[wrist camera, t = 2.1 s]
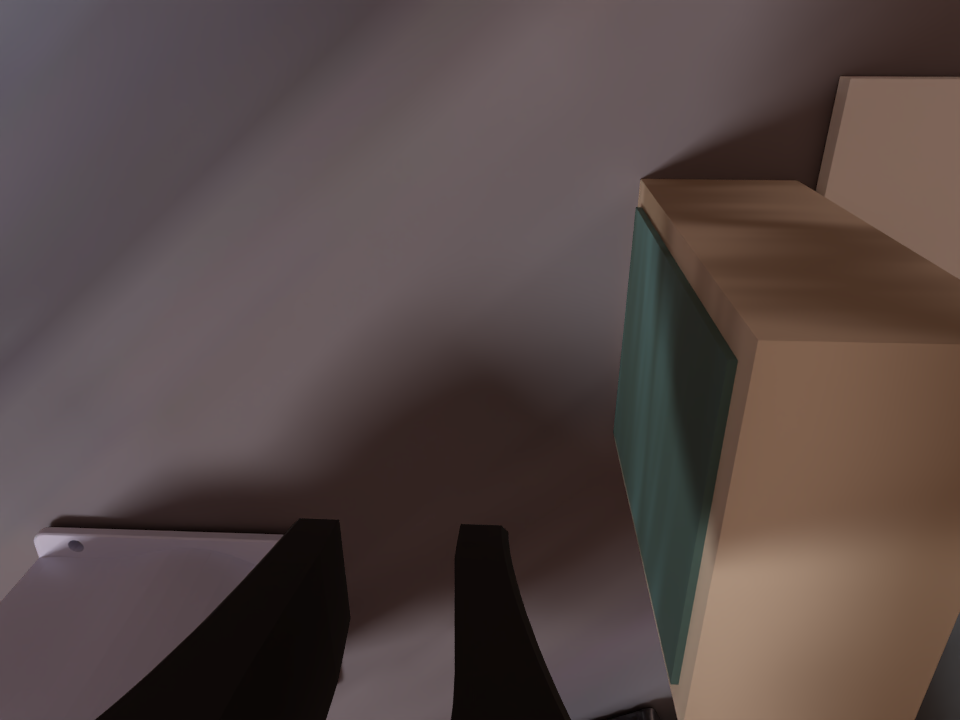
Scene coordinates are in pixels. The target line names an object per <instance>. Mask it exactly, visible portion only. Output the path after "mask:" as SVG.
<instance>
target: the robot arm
mask: <svg viewBox="0 0 960 720" xmlns="http://www.w3.org/2000/svg"><path fill="white" fill-rule="evenodd" d="M77 541H79V542H80V543H79V542H77ZM81 543H82V544H81ZM34 544H35V547H36V550H37V553H38V555H39V559H38V560H37V561H36V562H35V563H34V564H33V565H32V567H31V568H30V569H29V570H28V571H27V572H26V574H25V575H24V576H23V577H22V578H21V579H20V580H19V582H18V583H17V584H16V585H15V586H14V587H13V588H12V590H11V591H10V592H9V593H8V594H7V595H6V596H5V598H4V599H3V600H2V601H1V602H0V720H326V718H327V715H328V711H329V708H330V705H331V702H332V699H333V695H334V692H335V689H336V686H337V682H338V678H339V673H340V668H341V663H342V658H343V654H344V649H345V643H346V638H347V633H348V628H349V622H350V610H349V601H348V593H347V584H346V575H345V567H344V558H343V550H342V541H341V532H340V524H339V520H327V519H299V520H298V521H297V522H295V523H294V524H293V525H292V526H291V527H290V529H289V530H288V531H287V532H286V533H285V534H284V535H281V534H250V533H219V532H188V531H157V530H126V529H95V528H64V527H46V528H43V529H42V530H40V532H39V533H38V534H37V535H36V536H35V538H34ZM451 720H571V719H570V717H569V715H568V712H567V710H566V708H565V706H564V704H563V702H562V700H561V698H560V695H559V693H558V691H557V689H556V686H555V684H554V682H553V680H552V677H551V675H550V673H549V671H548V668H547V666H546V663H545V661H544V659H543V656H542V654H541V651H540V649H539V646H538V643H537V641H536V638H535V635H534V633H533V630H532V627H531V624H530V622H529V619H528V616H527V613H526V611H525V607H524V604H523V601H522V598H521V595H520V591H519V588H518V584H517V581H516V577H515V573H514V569H513V565H512V560H511V555H510V548H509V540H508V531H506V530H505V529H504V528H503V527H502V526H498V525H470V524H461V526H460V531H459V536H458V541H457V547H456V553H455V678H454V697H453V708H452V716H451Z"/></svg>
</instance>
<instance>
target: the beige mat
mask: <svg viewBox="0 0 960 720" xmlns="http://www.w3.org/2000/svg"><path fill="white" fill-rule="evenodd" d="M816 192H817V193H819V194H820V195H822V196H824V197H825V198H827V199H829V200H830V201H832V202H834V203H835V204H837V205H838V206H840V207H842V208H843V209H845V210H847V211H848V212H850V213H852V214H853V215H855V216H856V217H858V218H860V219H861V220H863V221H865V222H866V223H868V224H870V225H871V226H873V227H874V228H876V229H878V230H879V231H881V232H883V233H884V234H886V235H888V236H889V237H891V238H893V239H894V240H896V241H897V242H899V243H901V244H902V245H904V246H906V247H907V248H909V249H911V250H912V251H914V252H915V253H917V254H919V255H920V256H922V257H924V258H925V259H927V260H929V261H930V262H932V263H933V264H935V265H937V266H938V267H940V268H942V269H943V270H945V271H947V272H948V273H950V274H952V275H953V276H955V277H956V278H958V279H960V77H892V76H840V79H839V84H838V89H837V93H836V98H835V103H834V107H833V112H832V117H831V121H830V126H829V131H828V135H827V140H826V145H825V149H824V154H823V159H822V164H821V168H820V173H819V178H818V182H817V187H816Z"/></svg>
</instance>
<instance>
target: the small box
mask: <svg viewBox="0 0 960 720" xmlns="http://www.w3.org/2000/svg"><path fill="white" fill-rule="evenodd" d="M608 720H660V719H659V717H658V716H657V714H656V711H655V710H654V709H653V708H647V709H643V710H640V711H636V712H633V713H630V714H627V715H623V716H619V717H616V718H612V719H608Z"/></svg>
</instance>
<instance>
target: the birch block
mask: <svg viewBox="0 0 960 720" xmlns="http://www.w3.org/2000/svg"><path fill="white" fill-rule="evenodd" d="M613 433H614V439H615V444H616V448H617V453H618V457H619V462H620V466H621V470H622V475H623V479H624V484H625V488H626V493H627V497H628V502H629V506H630V510H631V515H632V519H633V524H634V528H635V533H636V537H637V542H638V546H639V550H640V555H641V559H642V564H643V568H644V573H645V577H646V582H647V586H648V590H649V595H650V599H651V604H652V608H653V613H654V617H655V622H656V626H657V630H658V635H659V639H660V644H661V648H662V653H663V657H664V662H665V666H666V670H667V675H668V679H669V684H670V688H671V693H672V697H673V702H674V706H675V711H676V715H677V719H678V720H915V718H916V715H917V713H918V711H919V708H920V706H921V703H922V701H923V699H924V696H925V694H926V691H927V689H928V687H929V684H930V682H931V679H932V677H933V675H934V672H935V670H936V667H937V665H938V662H939V660H940V658H941V655H942V653H943V650H944V648H945V646H946V643H947V641H948V638H949V636H950V634H951V631H952V629H953V626H954V624H955V622H956V619H957V617H958V614H959V612H960V279H958V278H956V277H955V276H953V275H952V274H950V273H948V272H947V271H945V270H943V269H942V268H940V267H938V266H937V265H935V264H933V263H932V262H930V261H929V260H927V259H925V258H924V257H922V256H920V255H919V254H917V253H915V252H914V251H912V250H911V249H909V248H907V247H906V246H904V245H902V244H901V243H899V242H897V241H896V240H894V239H893V238H891V237H889V236H888V235H886V234H884V233H883V232H881V231H879V230H878V229H876V228H874V227H873V226H871V225H870V224H868V223H866V222H865V221H863V220H861V219H860V218H858V217H856V216H855V215H853V214H852V213H850V212H848V211H847V210H845V209H843V208H842V207H840V206H838V205H837V204H835V203H834V202H832V201H830V200H829V199H827V198H825V197H824V196H822V195H820V194H819V193H817V192H815V191H814V190H812V189H811V188H809V187H807V186H806V185H804V184H802V183H801V182H799V181H797V180H712V179H641V181H640V190H639V200H638V207H636V212H635V222H634V232H633V242H632V252H631V262H630V272H629V282H628V292H627V302H626V312H625V322H624V332H623V342H622V352H621V362H620V372H619V381H618V391H617V401H616V411H615V421H614V431H613Z"/></svg>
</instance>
